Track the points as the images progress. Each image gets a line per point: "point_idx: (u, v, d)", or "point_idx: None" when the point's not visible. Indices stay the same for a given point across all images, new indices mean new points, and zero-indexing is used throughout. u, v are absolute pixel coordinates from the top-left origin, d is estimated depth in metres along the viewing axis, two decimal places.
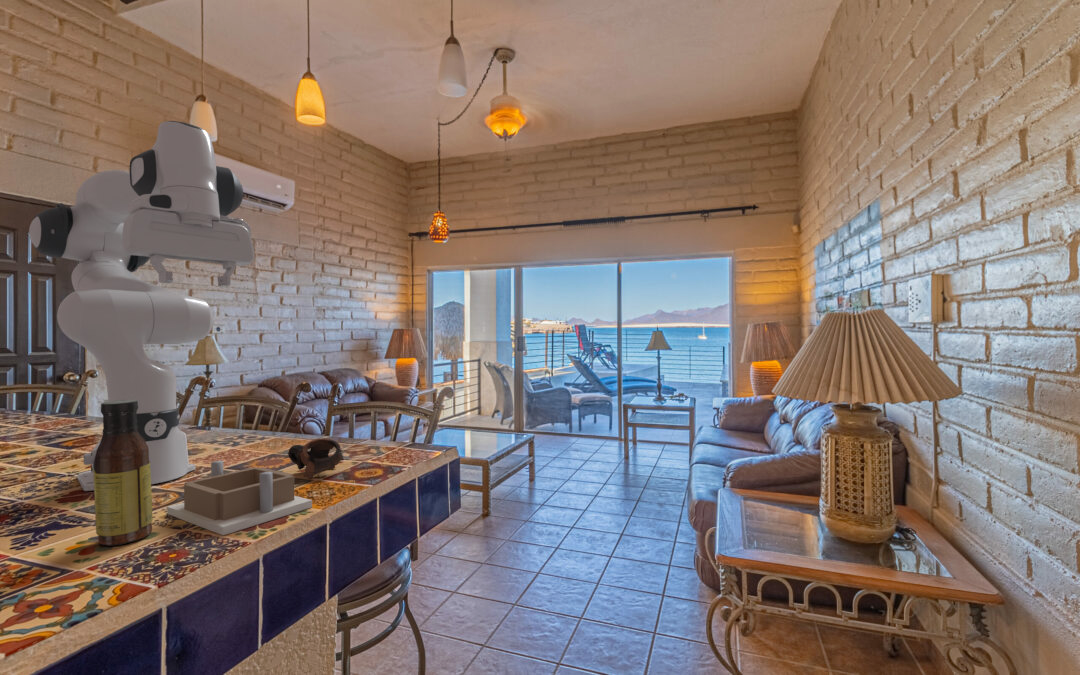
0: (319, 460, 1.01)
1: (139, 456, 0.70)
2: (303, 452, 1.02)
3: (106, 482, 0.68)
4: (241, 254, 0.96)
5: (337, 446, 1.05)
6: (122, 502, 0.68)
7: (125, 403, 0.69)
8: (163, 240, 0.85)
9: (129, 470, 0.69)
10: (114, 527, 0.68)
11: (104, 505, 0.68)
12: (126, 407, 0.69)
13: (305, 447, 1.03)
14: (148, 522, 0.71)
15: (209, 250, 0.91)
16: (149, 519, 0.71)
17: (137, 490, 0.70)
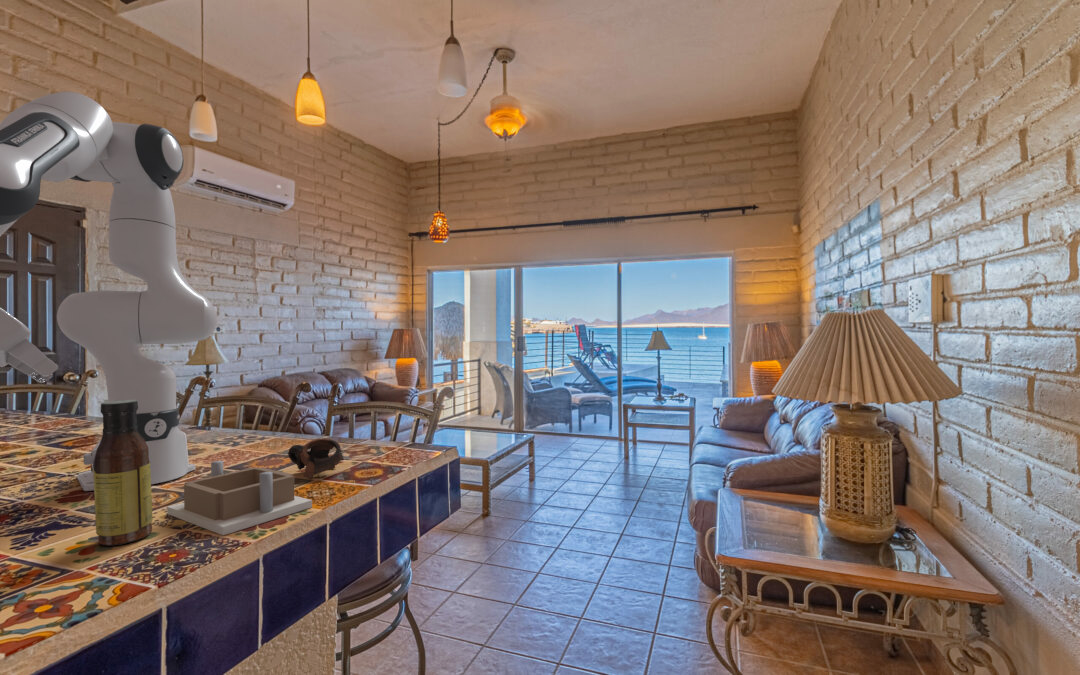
0: (319, 460, 1.01)
1: (139, 456, 0.70)
2: (303, 452, 1.02)
3: (106, 482, 0.68)
4: None
5: (337, 446, 1.05)
6: (122, 502, 0.68)
7: (125, 403, 0.69)
8: None
9: (129, 470, 0.69)
10: (114, 527, 0.68)
11: (104, 505, 0.68)
12: (126, 407, 0.69)
13: (305, 447, 1.03)
14: (148, 522, 0.71)
15: None
16: (149, 519, 0.71)
17: (137, 490, 0.70)
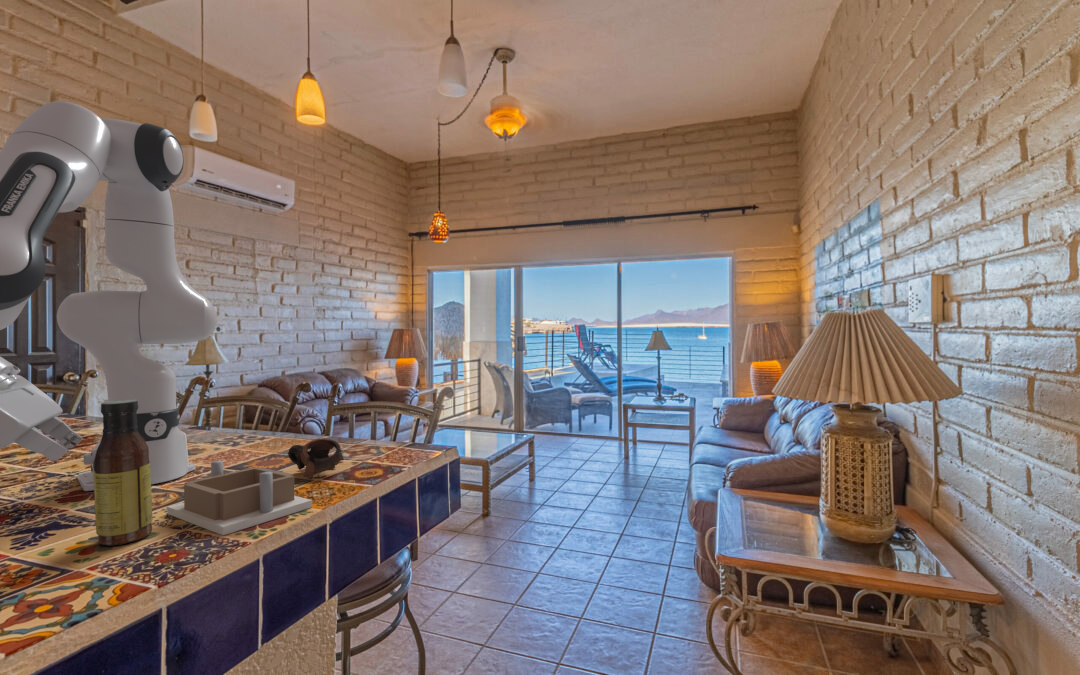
0: (319, 460, 1.01)
1: (139, 456, 0.70)
2: (303, 452, 1.02)
3: (106, 482, 0.68)
4: None
5: (337, 446, 1.05)
6: (122, 502, 0.68)
7: (125, 403, 0.69)
8: None
9: (129, 470, 0.69)
10: (114, 527, 0.68)
11: (104, 505, 0.68)
12: (126, 407, 0.69)
13: (305, 447, 1.03)
14: (148, 522, 0.71)
15: None
16: (149, 519, 0.71)
17: (137, 490, 0.70)
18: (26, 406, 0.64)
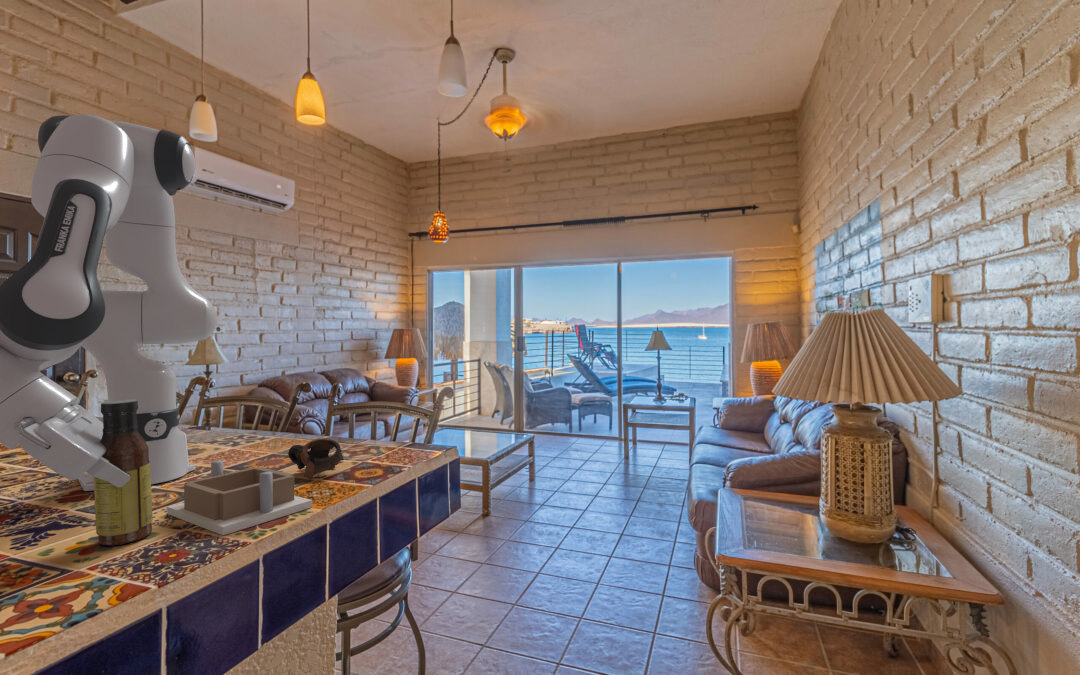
0: (319, 460, 1.01)
1: (139, 456, 0.70)
2: (303, 452, 1.02)
3: (106, 482, 0.68)
4: None
5: (337, 446, 1.06)
6: (122, 502, 0.68)
7: (125, 403, 0.69)
8: None
9: (129, 470, 0.69)
10: (114, 527, 0.68)
11: (103, 505, 0.68)
12: (126, 406, 0.69)
13: (305, 447, 1.03)
14: (148, 522, 0.71)
15: None
16: (149, 519, 0.71)
17: (137, 490, 0.70)
18: (90, 437, 0.67)
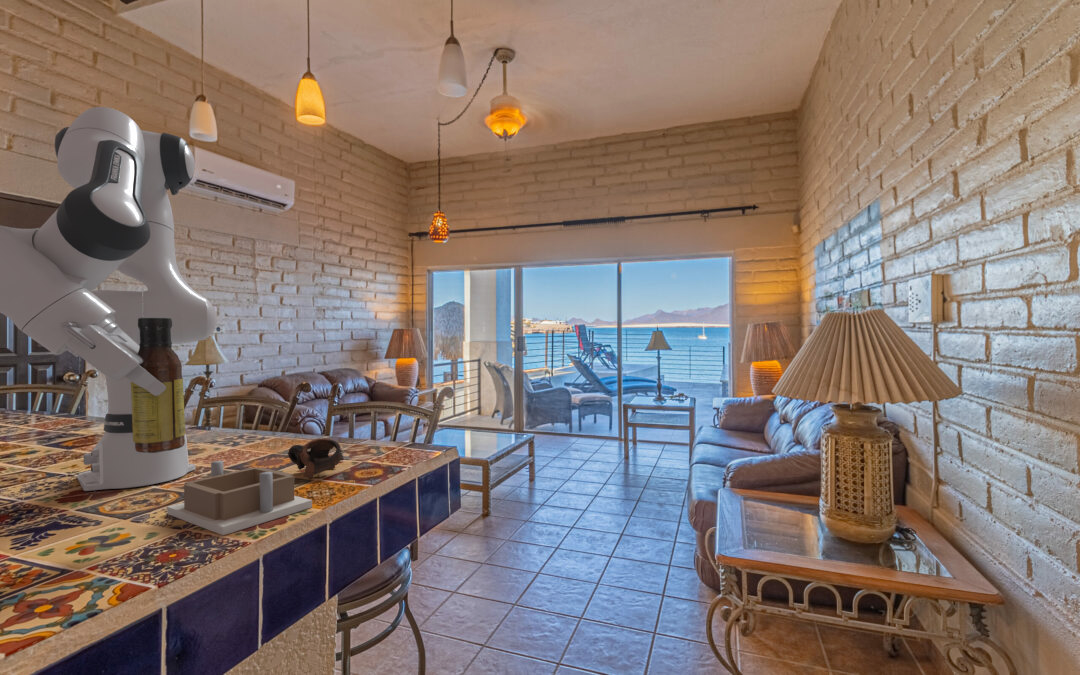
0: (319, 460, 1.01)
1: (173, 369, 0.73)
2: (303, 452, 1.02)
3: (143, 391, 0.71)
4: None
5: (337, 446, 1.06)
6: (158, 411, 0.72)
7: (160, 318, 0.73)
8: None
9: (164, 382, 0.72)
10: (150, 435, 0.71)
11: (141, 413, 0.71)
12: (161, 322, 0.73)
13: (305, 447, 1.03)
14: (181, 434, 0.74)
15: None
16: (182, 431, 0.75)
17: (172, 401, 0.73)
18: (129, 348, 0.71)
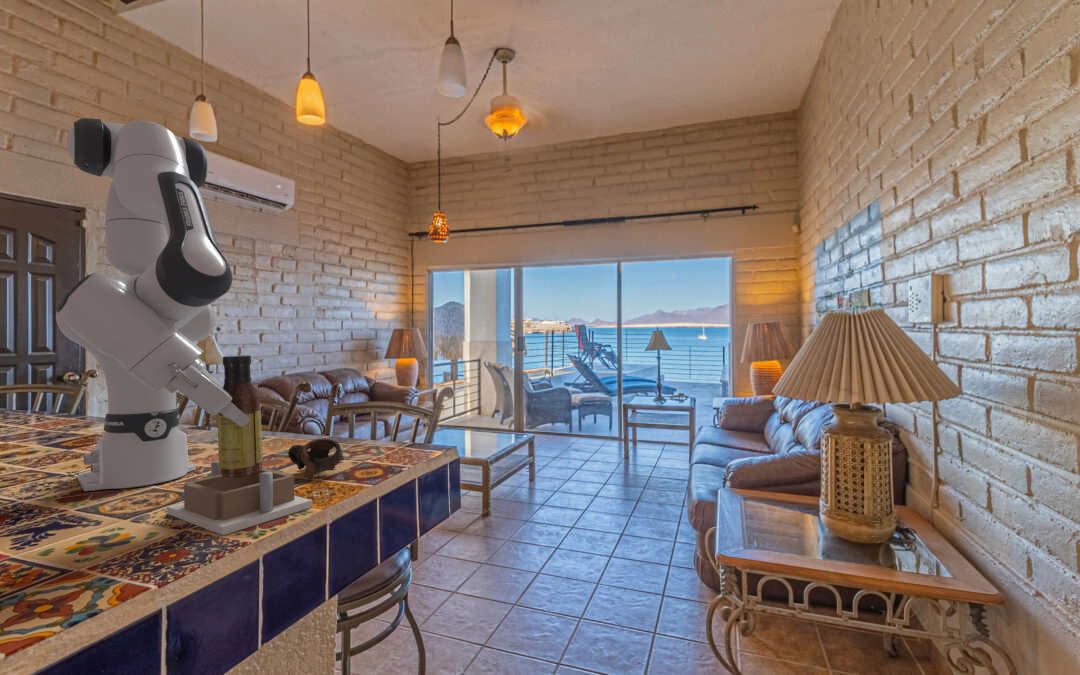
0: (319, 460, 1.01)
1: (254, 402, 0.82)
2: (303, 452, 1.02)
3: (230, 422, 0.79)
4: None
5: (337, 446, 1.06)
6: (242, 440, 0.80)
7: (243, 356, 0.81)
8: None
9: (247, 413, 0.80)
10: (236, 462, 0.79)
11: (227, 442, 0.79)
12: (244, 359, 0.81)
13: (305, 447, 1.03)
14: (261, 460, 0.83)
15: None
16: (261, 457, 0.83)
17: (253, 431, 0.81)
18: None
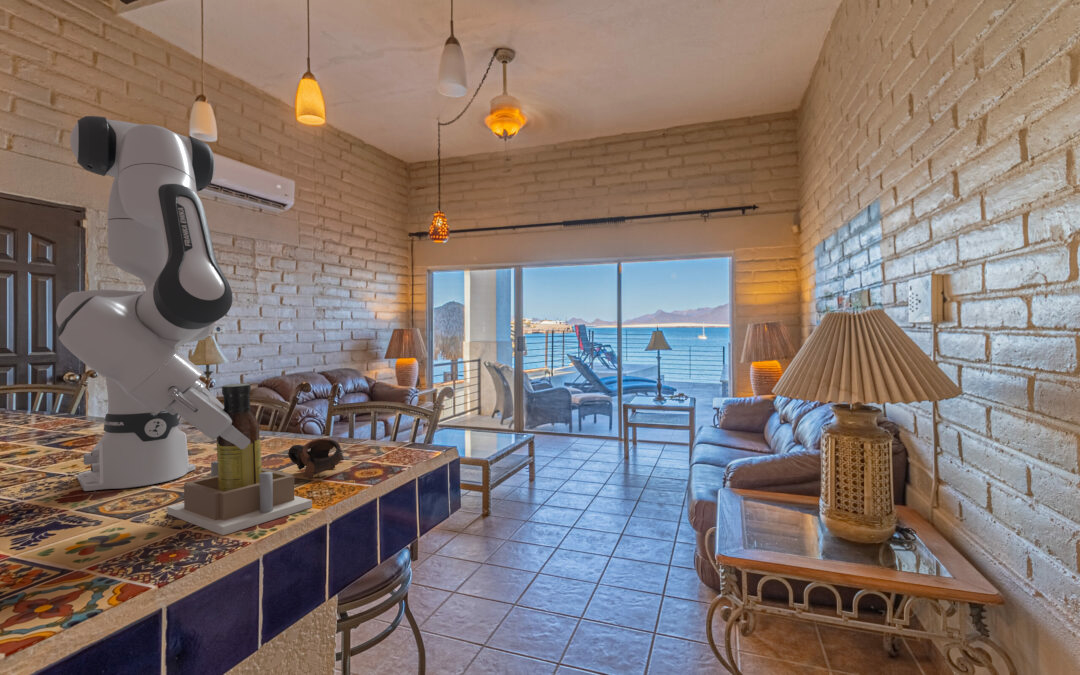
0: (319, 460, 1.01)
1: (254, 431, 0.82)
2: (303, 452, 1.02)
3: (229, 453, 0.79)
4: None
5: (337, 446, 1.06)
6: (242, 471, 0.80)
7: (242, 386, 0.81)
8: None
9: None
10: None
11: (227, 473, 0.79)
12: (243, 389, 0.81)
13: (305, 447, 1.03)
14: None
15: None
16: None
17: (253, 460, 0.81)
18: (217, 405, 0.79)
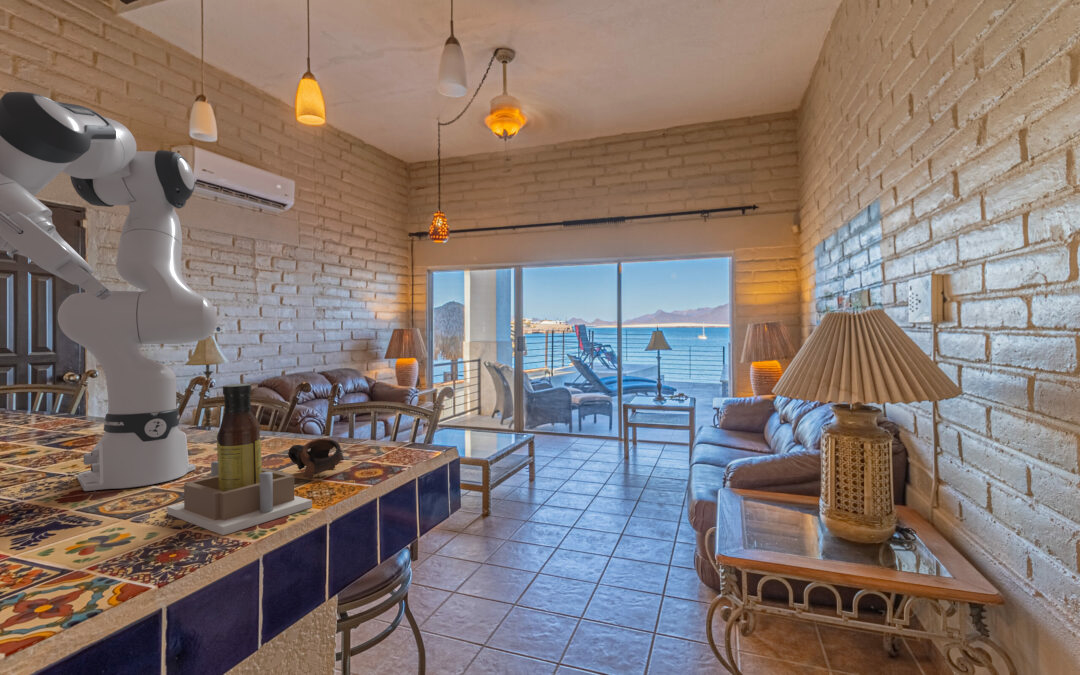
0: (319, 460, 1.01)
1: (254, 431, 0.82)
2: (303, 452, 1.02)
3: (230, 453, 0.79)
4: None
5: (337, 446, 1.06)
6: (242, 470, 0.80)
7: (243, 386, 0.81)
8: None
9: (247, 443, 0.80)
10: None
11: (227, 472, 0.79)
12: (244, 389, 0.81)
13: (305, 447, 1.03)
14: None
15: None
16: None
17: (253, 460, 0.81)
18: None
